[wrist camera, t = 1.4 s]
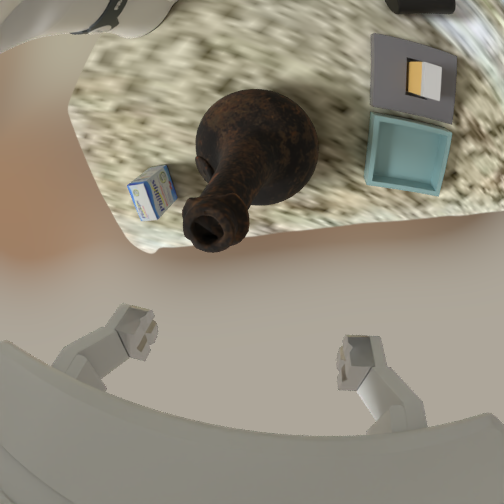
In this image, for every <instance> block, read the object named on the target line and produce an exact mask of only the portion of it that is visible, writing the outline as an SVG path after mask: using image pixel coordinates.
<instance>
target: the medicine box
mask: <svg viewBox="0 0 504 504" xmlns="http://www.w3.org/2000/svg"><path fill="white" fill-rule="evenodd" d="M127 187H128V190H129V192H130V195H131V197H132V200H133V202H134V205H135V207H136V210H137V212H138V214H139V217H140V219H141V221H150V220H158V219H159V218H160V217H161V216H162V215H163V214H164V212H165V211H166V210H167V209H168V208H169V207H170V206H171V205H172V204H173V203H174V202H175V201H176V200H177V195H176V192H175V189H174V186H173V183H172V180H171V177H170V174H169V171H168V168H167V165H161V166H156V167H151V168H149V169H147V170H146V171H145V172H144V173H142V174H141V175H140V176H138V177H137V178H136V179H135V180H133V181H132V182H131V183H129V184H128V185H127Z"/></svg>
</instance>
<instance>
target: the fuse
mask: <svg viewBox="0 0 504 504" xmlns="http://www.w3.org/2000/svg"><path fill="white" fill-rule="evenodd" d="M441 75H442V67H440V66H437V65H433V64H430V63H427V62H407V72H406V91H408V92H411V93H414V94H417V95H420V96H423V97H426V98H430V99H434V100H437V101H440V92H441Z"/></svg>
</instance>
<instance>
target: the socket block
mask: <svg viewBox="0 0 504 504" xmlns="http://www.w3.org/2000/svg"><path fill="white" fill-rule="evenodd" d="M407 62H427V63H430V64H433V65H437V66H440V67H442V75H441V92H440V101H437V100H434V99H430V98H426V97H423V96H420V95H417V94H414V93H411V92H408V91H406V72H407ZM456 76H457V56H455V55H452V54H449V53H447V52H444V51H441V50H438V49H435V48H432V47H429V46H425V45H422V44H419V43H415V42H411V41H408V40H404V39H400V38H395V37H391V36H386V35H381V34H376V33H373V34H371V85H370V105H371V106H373V107H378V108H384V109H390V110H395V111H400V112H405V113H409V114H414V115H418V116H422V117H426V118H430V119H434V120H438V121H441V122H445V123H448V124H451V125H452V120H453V112H454V103H455V92H456Z"/></svg>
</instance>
